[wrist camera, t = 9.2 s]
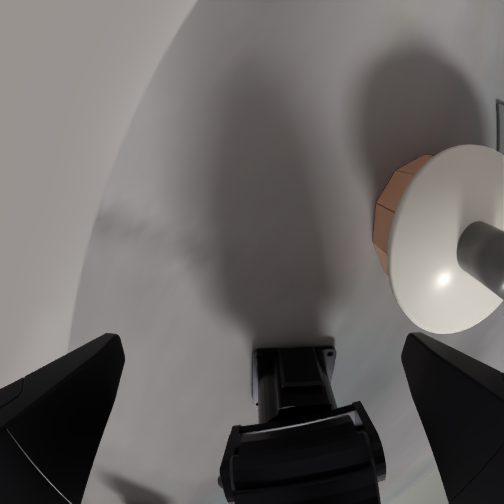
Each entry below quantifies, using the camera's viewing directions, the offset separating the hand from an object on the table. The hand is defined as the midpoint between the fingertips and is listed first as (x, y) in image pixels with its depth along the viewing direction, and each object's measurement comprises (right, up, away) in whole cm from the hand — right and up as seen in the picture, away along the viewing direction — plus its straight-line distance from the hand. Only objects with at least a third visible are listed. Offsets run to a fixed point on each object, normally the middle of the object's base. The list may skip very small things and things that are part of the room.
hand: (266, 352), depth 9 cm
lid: (+13, +3, +7) cm, 15 cm away
